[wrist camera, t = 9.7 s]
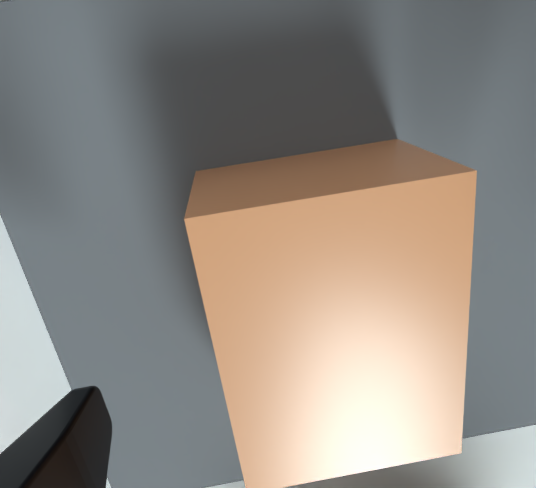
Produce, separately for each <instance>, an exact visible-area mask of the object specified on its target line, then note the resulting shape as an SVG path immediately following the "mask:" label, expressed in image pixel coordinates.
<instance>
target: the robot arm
mask: <svg viewBox="0 0 536 488" xmlns="http://www.w3.org/2000/svg"><path fill="white" fill-rule="evenodd" d="M111 440H112V421H111V417H110V415H109V412H108V409H107V407H106V404H105V401H104V399H103V396H102V393H101V391H100V389H99V388H98V387H97V386H87V387H82V388H76V389H73V390H72V391H70V392H69V393H68V394H67V395H66V396H65V397H64V398H62V399H61V400H60V401H59V402H58V403H57V404H56V405H55V406H53V407H52V408H51V409H50V410H49V411H48V412H47V413H46V414H44V415H43V416H42V417H41V418H40V419H39V420H38V421H37V422H36V423H34V424H33V425H32V426H31V427H30V428H29V429H28V430H27V431H25V432H24V433H23V434H22V435H21V436H20V437H19V438H18V439H16V440H15V441H14V442H13V443H12V444H11V445H10V446H9V447H8V448H6V449H5V450H4V451H3V452H2V453H1V454H0V488H106V480H107V472H108V464H109V456H110V448H111Z"/></svg>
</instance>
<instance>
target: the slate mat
mask: <svg viewBox="0 0 536 488" xmlns="http://www.w3.org/2000/svg"><path fill="white" fill-rule="evenodd" d="M393 139H399V140H402V141H404V142H407V143H409V144H412V145H414V146H417V147H419V148H422V149H424V150H427V151H429V152H432V153H434V154H437V155H439V156H442V157H444V158H447V159H449V160H452V161H454V162H457V163H459V164H462V165H464V166H467V167H469V168H472V169H474V170H477V179H476V197H475V215H474V233H473V251H472V270H471V288H470V306H469V324H468V342H467V360H466V378H465V396H464V415H463V433H462V438H468V437H473V436H478V435H483V434H489V433H494V432H499V431H504V430H510V429H515V428H520V427H525V426H531V425H536V0H10V1H3V2H0V215H1V217H2V220H3V222H4V224H5V227H6V229H7V232H8V234H9V237H10V239H11V242H12V244H13V247H14V249H15V252H16V254H17V256H18V259H19V261H20V264H21V266H22V269H23V271H24V274H25V276H26V279H27V281H28V284H29V286H30V288H31V291H32V293H33V296H34V298H35V301H36V303H37V306H38V308H39V311H40V313H41V316H42V318H43V320H44V323H45V325H46V328H47V330H48V333H49V335H50V338H51V340H52V343H53V345H54V348H55V350H56V352H57V355H58V357H59V360H60V362H61V365H62V367H63V370H64V372H65V375H66V377H67V379H68V382H69V384H70V387H71V389H72V390H73V389H76V388H82V387H87V386H97V387H98V388H99V389H100V391H101V393H102V396H103V399H104V401H105V404H106V407H107V409H108V412H109V415H110V417H111V421H112V440H111V448H110V456H109V464H108V472H107V478H108V480H109V483H110V485H111V488H205V487H210V486H215V485H221V484H226V483H231V482H237V481H242V480H244V478H243V474H242V469H241V465H240V461H239V456H238V452H237V448H236V443H235V439H234V435H233V430H232V426H231V421H230V417H229V413H228V408H227V404H226V400H225V395H224V391H223V387H222V382H221V378H220V373H219V369H218V365H217V360H216V356H215V352H214V347H213V343H212V339H211V334H210V330H209V326H208V321H207V317H206V312H205V308H204V304H203V299H202V295H201V291H200V286H199V282H198V278H197V273H196V269H195V264H194V260H193V256H192V251H191V247H190V243H189V238H188V234H187V230H186V225H185V221H184V217H185V213H186V209H187V205H188V201H189V196H190V192H191V188H192V184H193V180H194V176H195V172H196V171H200V170H206V169H212V168H219V167H225V166H231V165H237V164H244V163H250V162H256V161H262V160H269V159H275V158H281V157H287V156H294V155H300V154H306V153H312V152H318V151H325V150H331V149H337V148H343V147H350V146H356V145H362V144H368V143H375V142H381V141H387V140H393Z"/></svg>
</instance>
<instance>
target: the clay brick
mask: <svg viewBox="0 0 536 488" xmlns="http://www.w3.org/2000/svg"><path fill="white" fill-rule="evenodd" d="M476 179H477V170H474V169H472V168H469V167H467V166H464V165H462V164H459V163H457V162H454V161H452V160H449V159H447V158H444V157H442V156H439V155H437V154H434V153H432V152H429V151H427V150H424V149H422V148H419V147H417V146H414V145H412V144H409V143H407V142H404V141H402V140H399V139H393V140H387V141H381V142H375V143H368V144H362V145H356V146H350V147H343V148H337V149H331V150H325V151H318V152H312V153H306V154H300V155H294V156H287V157H281V158H275V159H269V160H262V161H256V162H250V163H244V164H237V165H231V166H225V167H219V168H212V169H206V170H200V171H196V172H195V176H194V180H193V184H192V188H191V192H190V196H189V201H188V205H187V209H186V213H185V217H184V221H185V225H186V230H187V234H188V238H189V243H190V247H191V251H192V256H193V260H194V264H195V269H196V273H197V278H198V282H199V286H200V291H201V295H202V299H203V304H204V308H205V312H206V317H207V321H208V326H209V330H210V334H211V339H212V343H213V347H214V352H215V356H216V360H217V365H218V369H219V373H220V378H221V382H222V387H223V391H224V395H225V400H226V404H227V408H228V413H229V417H230V421H231V426H232V430H233V435H234V439H235V443H236V448H237V452H238V456H239V461H240V465H241V469H242V474H243V478H244V483H245V487H246V488H284V487H289V486H294V485H299V484H304V483H310V482H315V481H320V480H325V479H330V478H336V477H341V476H346V475H351V474H356V473H362V472H367V471H372V470H377V469H382V468H388V467H393V466H398V465H403V464H408V463H414V462H419V461H424V460H429V459H434V458H440V457H445V456H450V455H455V454H460V453H461V451H462V433H463V415H464V396H465V378H466V360H467V342H468V324H469V306H470V288H471V270H472V251H473V233H474V215H475V197H476Z"/></svg>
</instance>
